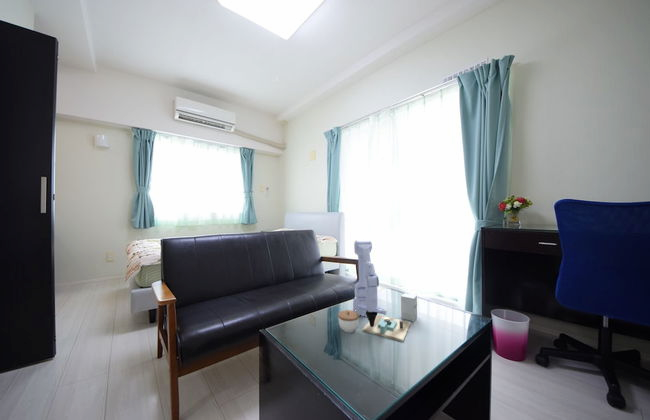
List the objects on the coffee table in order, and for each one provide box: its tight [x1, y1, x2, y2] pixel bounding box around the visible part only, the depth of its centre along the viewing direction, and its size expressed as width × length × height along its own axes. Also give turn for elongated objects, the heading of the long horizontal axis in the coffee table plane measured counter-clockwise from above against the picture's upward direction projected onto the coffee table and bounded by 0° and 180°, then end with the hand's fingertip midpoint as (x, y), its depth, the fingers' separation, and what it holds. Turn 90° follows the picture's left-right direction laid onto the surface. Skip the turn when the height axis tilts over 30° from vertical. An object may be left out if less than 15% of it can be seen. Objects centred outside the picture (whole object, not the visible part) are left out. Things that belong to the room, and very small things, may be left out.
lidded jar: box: [337, 309, 360, 333], centre depth 116 cm, size 11×11×9 cm
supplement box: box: [400, 292, 418, 322], centre depth 129 cm, size 7×7×13 cm
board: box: [362, 314, 412, 342], centre depth 118 cm, size 20×20×4 cm
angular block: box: [378, 319, 397, 334], centre depth 115 cm, size 14×8×3 cm, turn 150°
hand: (372, 325), depth 115 cm, fingers closed
